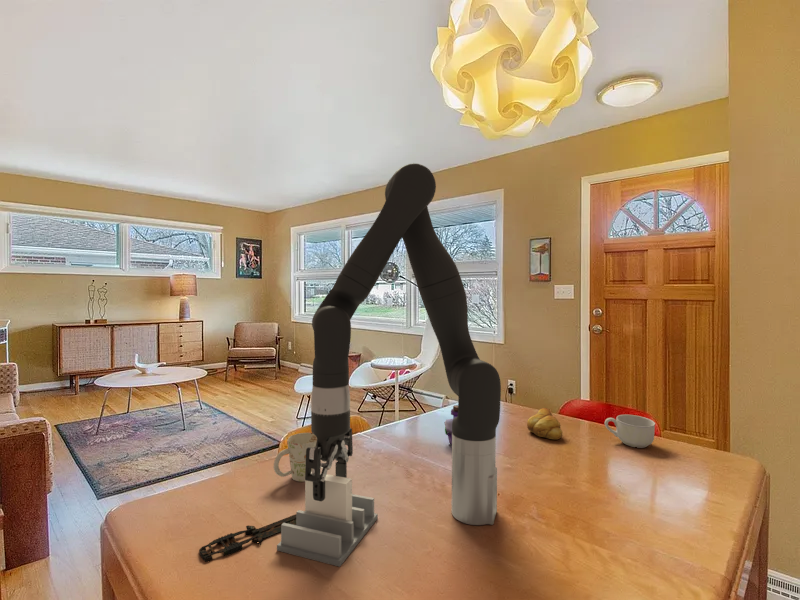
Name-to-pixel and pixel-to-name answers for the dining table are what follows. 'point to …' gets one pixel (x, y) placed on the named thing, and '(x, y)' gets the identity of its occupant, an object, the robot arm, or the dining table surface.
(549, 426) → the bread roll
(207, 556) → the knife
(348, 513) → the cream rectangular block
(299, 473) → the mug
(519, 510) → the dining table surface
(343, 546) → the dish rack
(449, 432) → the potion bottle
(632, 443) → the teacup
